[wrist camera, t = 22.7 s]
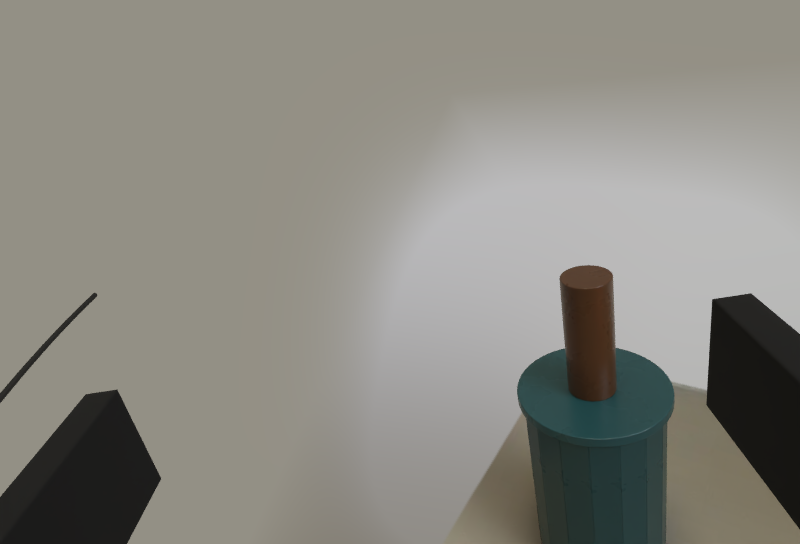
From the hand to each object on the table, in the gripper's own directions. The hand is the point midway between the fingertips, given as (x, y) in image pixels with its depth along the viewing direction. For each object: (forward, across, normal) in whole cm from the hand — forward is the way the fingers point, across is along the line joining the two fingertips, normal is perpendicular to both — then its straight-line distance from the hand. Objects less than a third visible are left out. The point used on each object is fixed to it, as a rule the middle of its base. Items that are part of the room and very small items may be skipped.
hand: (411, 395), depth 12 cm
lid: (+18, +9, -16) cm, 25 cm away
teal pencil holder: (+18, +9, -28) cm, 34 cm away
